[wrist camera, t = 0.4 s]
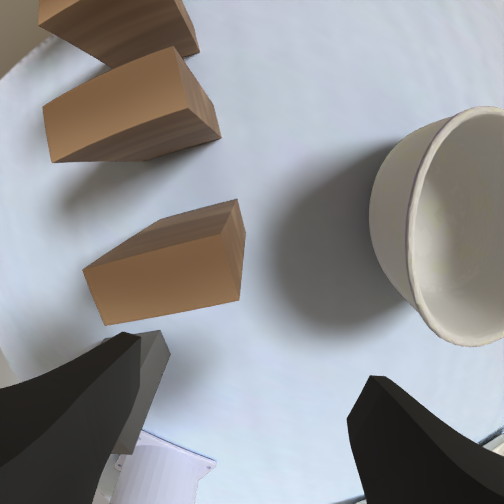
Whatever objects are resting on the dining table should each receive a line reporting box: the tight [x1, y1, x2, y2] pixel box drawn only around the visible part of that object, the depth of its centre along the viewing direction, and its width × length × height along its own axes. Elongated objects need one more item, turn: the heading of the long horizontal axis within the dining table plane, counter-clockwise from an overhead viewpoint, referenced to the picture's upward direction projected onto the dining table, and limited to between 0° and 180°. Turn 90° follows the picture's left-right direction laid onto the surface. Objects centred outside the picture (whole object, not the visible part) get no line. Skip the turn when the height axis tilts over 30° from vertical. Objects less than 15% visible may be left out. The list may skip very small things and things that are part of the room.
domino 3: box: [82, 199, 246, 326], centre depth 13 cm, size 2×5×9 cm, turn 104°
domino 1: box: [38, 0, 200, 69], centre depth 10 cm, size 2×5×9 cm, turn 104°
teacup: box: [369, 106, 504, 347], centre depth 13 cm, size 14×11×8 cm
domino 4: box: [100, 330, 171, 455], centre depth 15 cm, size 2×5×9 cm, turn 104°
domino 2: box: [43, 46, 222, 163], centre depth 11 cm, size 2×5×9 cm, turn 104°
